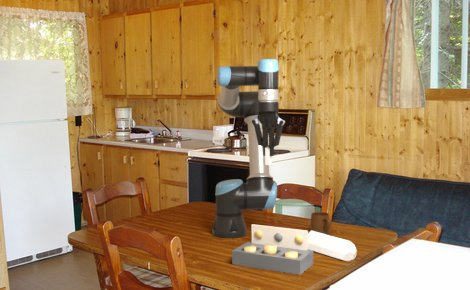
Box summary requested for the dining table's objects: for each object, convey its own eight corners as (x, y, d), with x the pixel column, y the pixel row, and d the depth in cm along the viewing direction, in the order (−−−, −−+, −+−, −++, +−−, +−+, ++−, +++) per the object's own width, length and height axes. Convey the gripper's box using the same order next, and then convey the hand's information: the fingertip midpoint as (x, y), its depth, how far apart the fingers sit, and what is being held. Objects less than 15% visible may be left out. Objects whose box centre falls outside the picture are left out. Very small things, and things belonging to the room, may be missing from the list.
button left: (242, 258, 194) (241, 247, 193) (247, 255, 197) (247, 244, 197) (253, 260, 192) (252, 249, 191) (258, 257, 195) (258, 246, 195)
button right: (283, 265, 186) (283, 253, 186) (287, 261, 190) (287, 250, 190) (294, 266, 184) (295, 255, 184) (299, 263, 188) (299, 252, 188)
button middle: (262, 257, 190) (262, 246, 189) (267, 254, 194) (267, 243, 193) (273, 259, 188) (273, 248, 187) (278, 256, 192) (278, 245, 191)
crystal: (297, 239, 211) (343, 253, 192) (308, 228, 214) (355, 240, 195) (304, 253, 214) (350, 269, 195) (315, 242, 217) (362, 256, 198)
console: (232, 264, 193) (231, 231, 192) (248, 254, 204) (248, 223, 203) (300, 275, 181) (300, 240, 180) (313, 264, 192) (313, 231, 191)
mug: (337, 239, 224) (338, 217, 223) (322, 241, 222) (322, 218, 221) (323, 232, 235) (323, 211, 235) (307, 234, 233) (307, 212, 232)
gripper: (248, 101, 198) (248, 165, 201) (280, 101, 192) (280, 166, 195) (256, 101, 205) (257, 162, 207) (288, 101, 199) (288, 164, 201)
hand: (268, 164), depth 201 cm, fingers closed
